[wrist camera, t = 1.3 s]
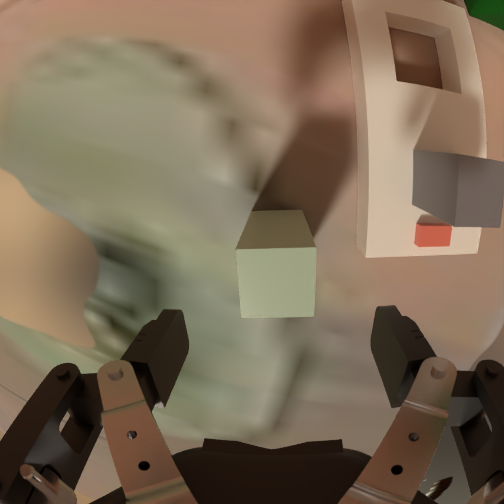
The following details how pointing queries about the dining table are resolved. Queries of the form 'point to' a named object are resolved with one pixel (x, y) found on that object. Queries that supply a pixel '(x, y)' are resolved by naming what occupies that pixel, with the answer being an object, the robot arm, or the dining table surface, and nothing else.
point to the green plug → (276, 265)
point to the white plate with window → (420, 135)
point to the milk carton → (487, 11)
